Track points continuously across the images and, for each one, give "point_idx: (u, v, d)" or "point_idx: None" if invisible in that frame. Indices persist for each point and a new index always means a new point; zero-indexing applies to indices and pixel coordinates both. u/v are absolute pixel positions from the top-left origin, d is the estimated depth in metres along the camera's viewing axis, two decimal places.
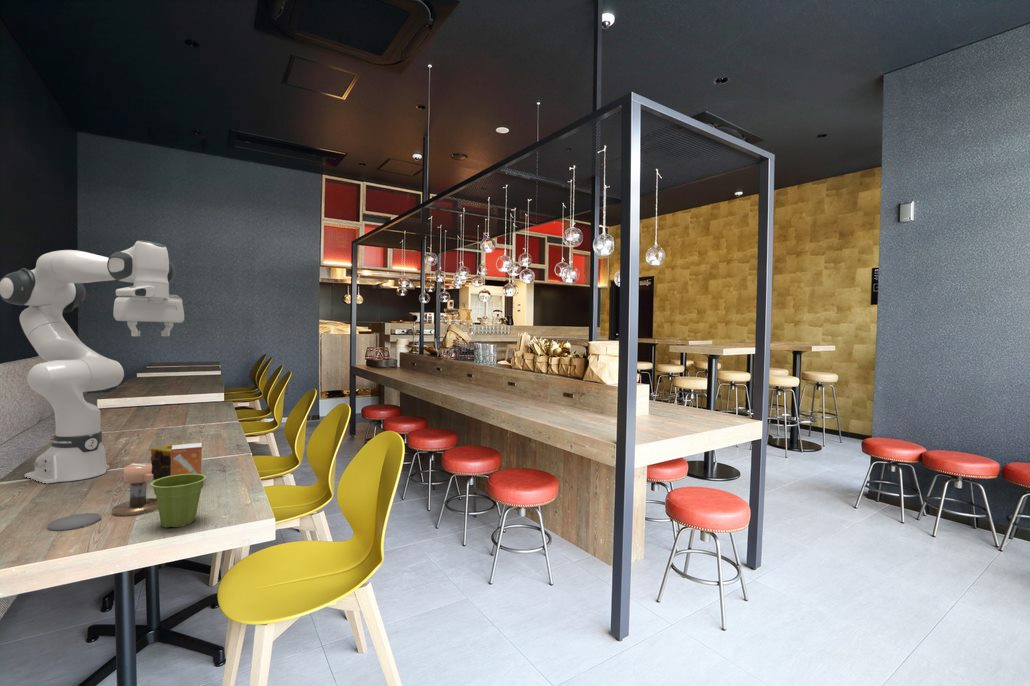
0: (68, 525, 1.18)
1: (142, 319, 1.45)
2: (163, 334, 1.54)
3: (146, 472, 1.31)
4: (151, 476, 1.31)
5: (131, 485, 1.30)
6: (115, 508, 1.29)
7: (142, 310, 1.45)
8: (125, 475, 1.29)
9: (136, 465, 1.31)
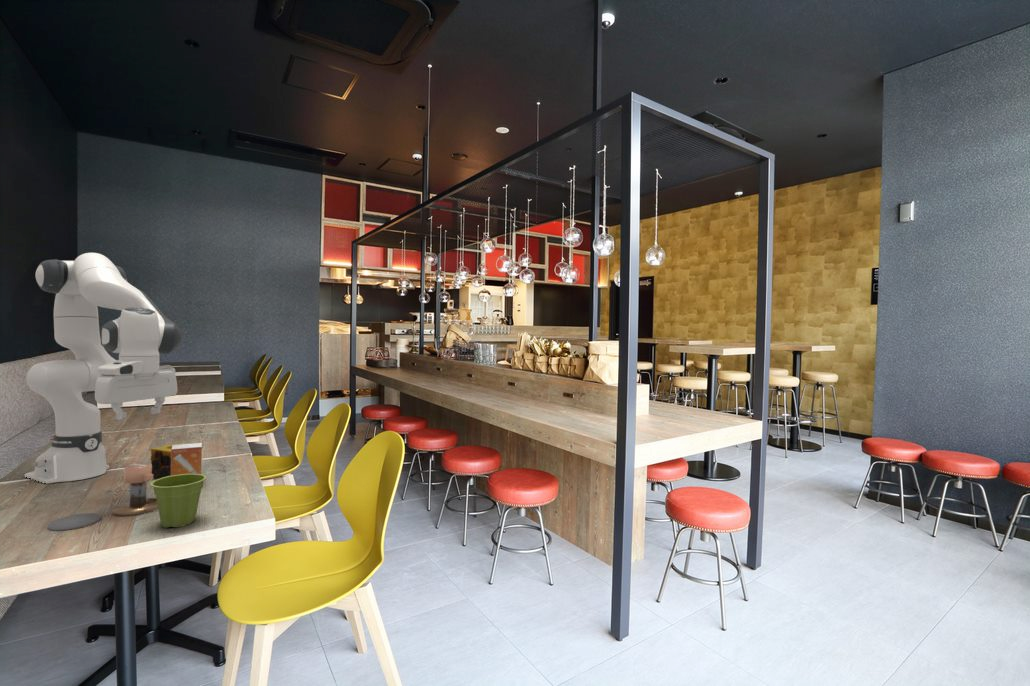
0: (68, 525, 1.18)
1: (128, 399, 1.27)
2: (153, 411, 1.35)
3: (146, 472, 1.31)
4: (151, 476, 1.31)
5: (131, 485, 1.30)
6: (115, 508, 1.29)
7: (128, 389, 1.27)
8: (125, 475, 1.29)
9: (136, 465, 1.31)
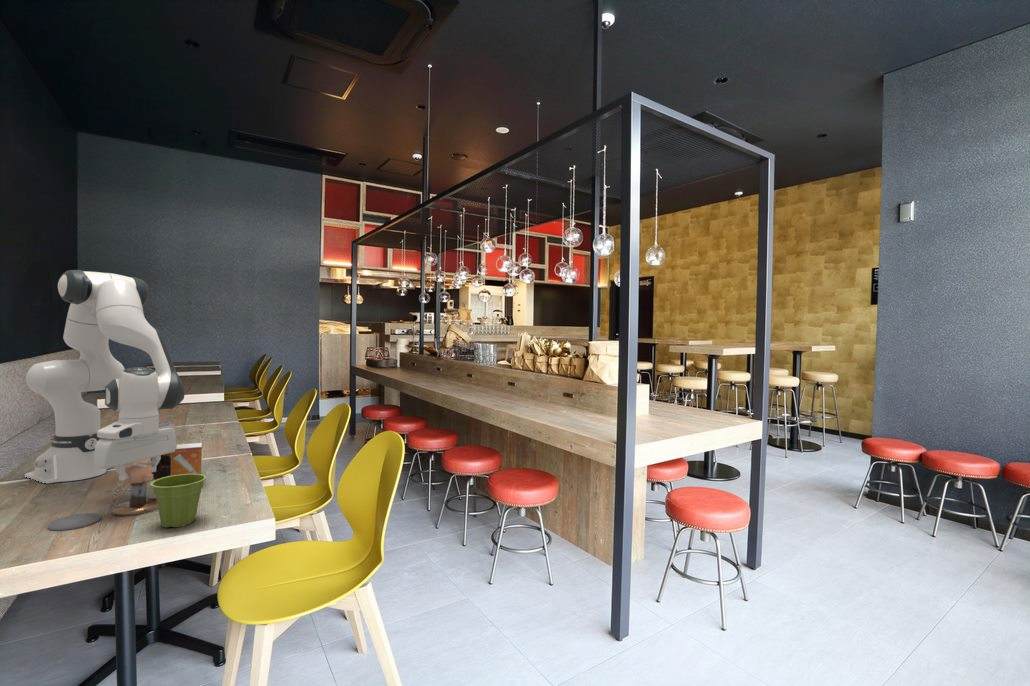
0: (68, 525, 1.18)
1: (128, 461, 1.27)
2: None
3: (146, 472, 1.31)
4: (151, 476, 1.31)
5: (131, 485, 1.30)
6: (115, 508, 1.29)
7: (127, 451, 1.27)
8: None
9: (136, 465, 1.31)
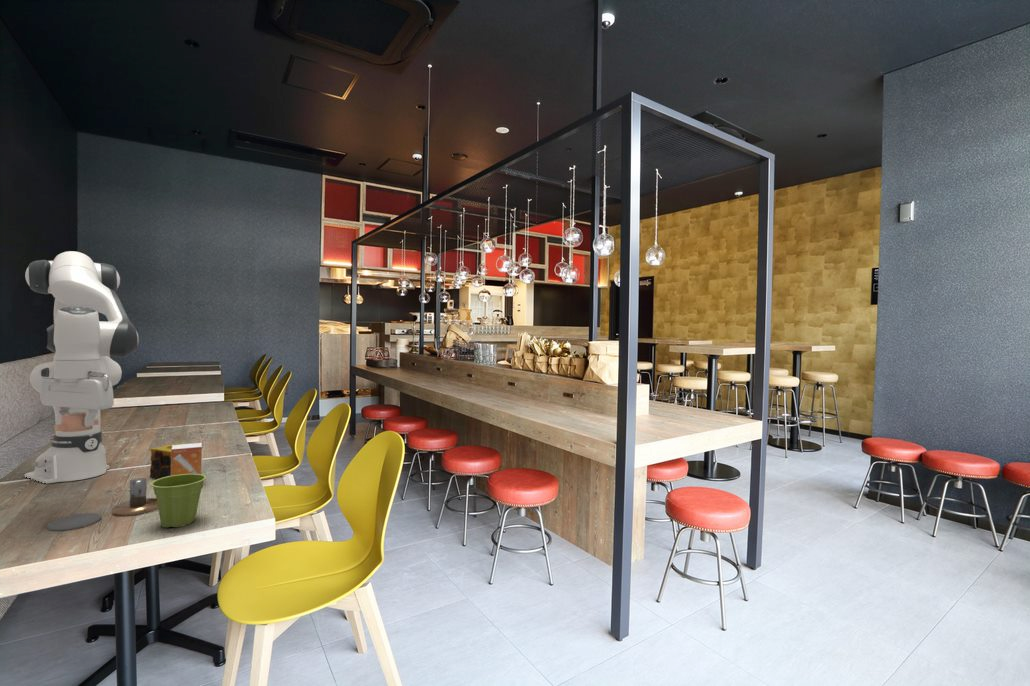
0: (68, 525, 1.18)
1: (57, 404, 1.20)
2: None
3: (63, 422, 1.18)
4: (56, 427, 1.17)
5: (131, 485, 1.30)
6: (115, 508, 1.29)
7: (56, 393, 1.20)
8: None
9: (76, 413, 1.21)
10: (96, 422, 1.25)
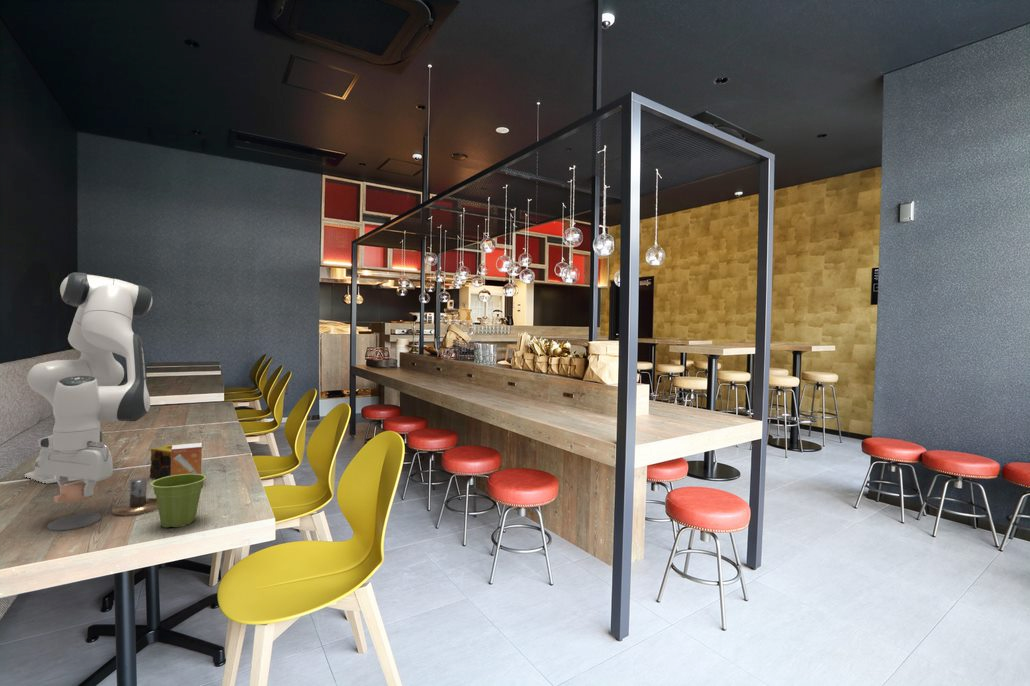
0: (68, 525, 1.18)
1: (56, 474, 1.20)
2: None
3: (63, 492, 1.18)
4: (56, 498, 1.17)
5: (131, 485, 1.30)
6: (115, 508, 1.29)
7: (56, 463, 1.20)
8: None
9: (76, 481, 1.22)
10: (96, 489, 1.25)
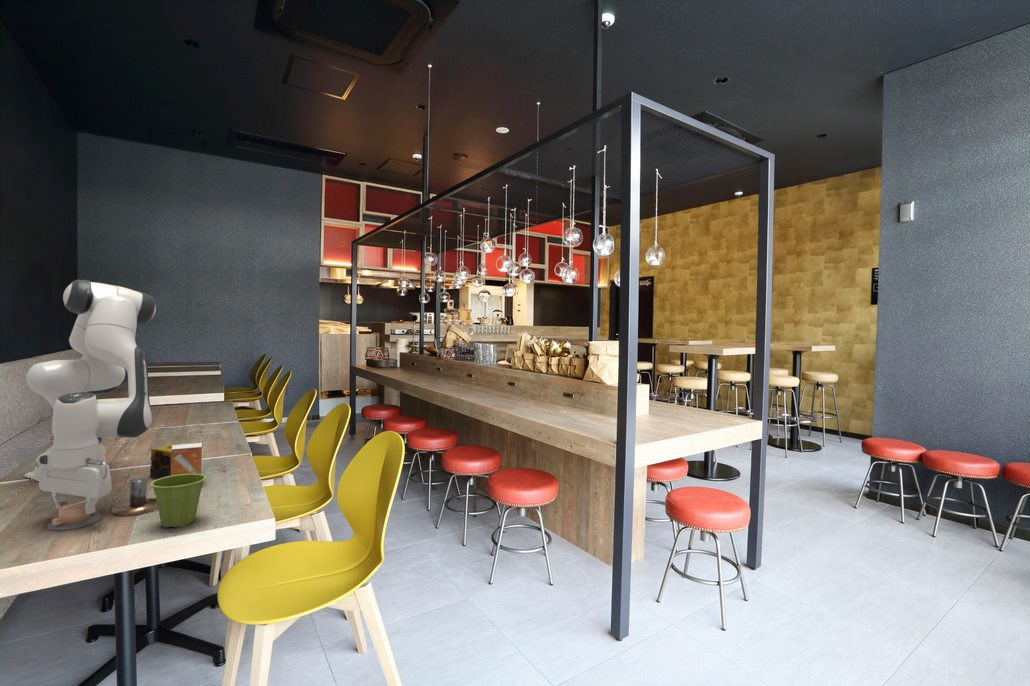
0: (68, 525, 1.18)
1: (55, 490, 1.20)
2: None
3: (61, 515, 1.18)
4: (54, 521, 1.17)
5: (131, 485, 1.30)
6: (115, 508, 1.29)
7: (55, 480, 1.20)
8: None
9: (75, 503, 1.22)
10: None
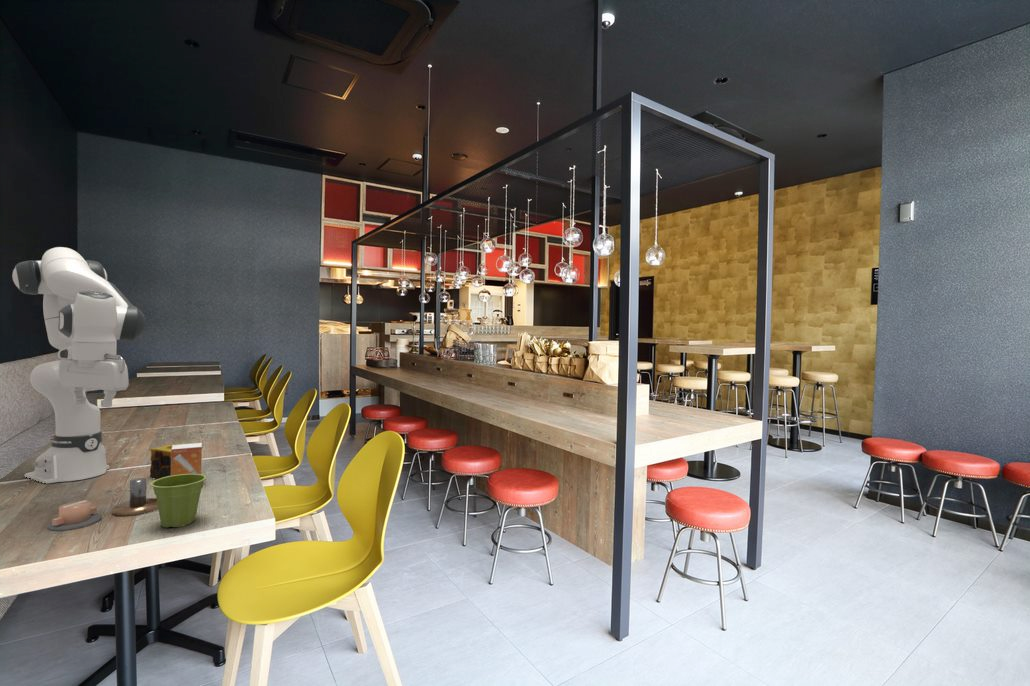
0: (68, 525, 1.18)
1: (74, 385, 1.25)
2: None
3: (61, 515, 1.18)
4: (54, 521, 1.17)
5: (131, 485, 1.30)
6: (115, 508, 1.29)
7: (74, 374, 1.25)
8: None
9: (75, 503, 1.22)
10: (94, 510, 1.25)
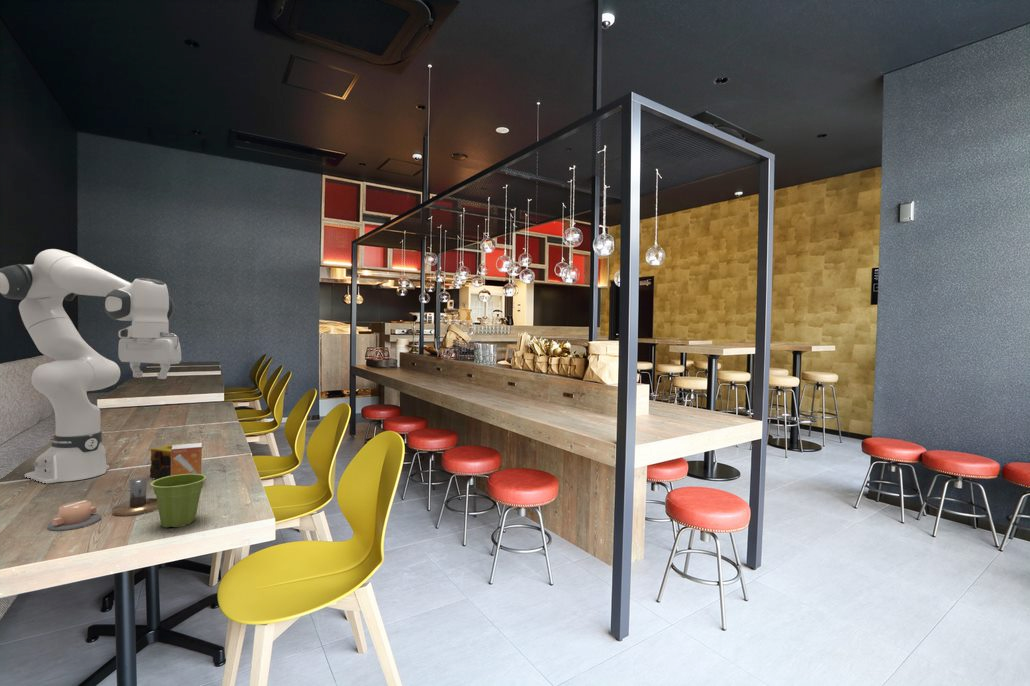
0: (68, 525, 1.18)
1: (133, 360, 1.42)
2: None
3: (61, 515, 1.18)
4: (54, 521, 1.17)
5: (131, 485, 1.30)
6: (115, 508, 1.29)
7: (133, 351, 1.42)
8: None
9: (75, 503, 1.22)
10: (94, 510, 1.25)
